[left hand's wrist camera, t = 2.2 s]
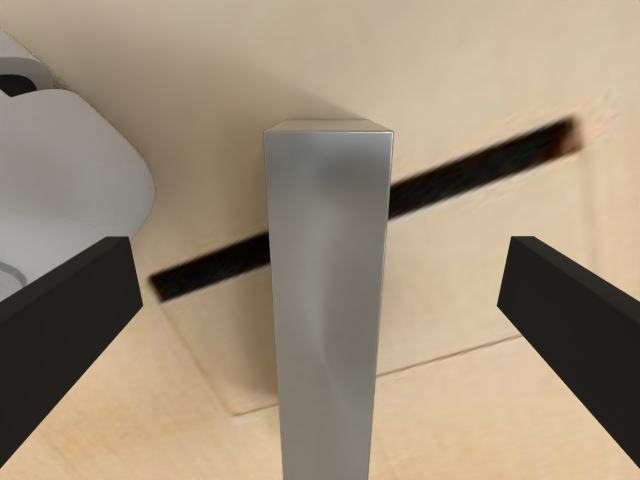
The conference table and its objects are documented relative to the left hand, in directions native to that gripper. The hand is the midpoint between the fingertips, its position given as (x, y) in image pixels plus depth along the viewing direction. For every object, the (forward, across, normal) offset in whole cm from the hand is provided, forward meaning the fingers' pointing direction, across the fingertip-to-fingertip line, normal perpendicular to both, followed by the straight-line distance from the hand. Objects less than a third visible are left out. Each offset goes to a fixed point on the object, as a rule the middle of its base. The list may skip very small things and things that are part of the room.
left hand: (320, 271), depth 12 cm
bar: (+13, 0, -7) cm, 15 cm away
